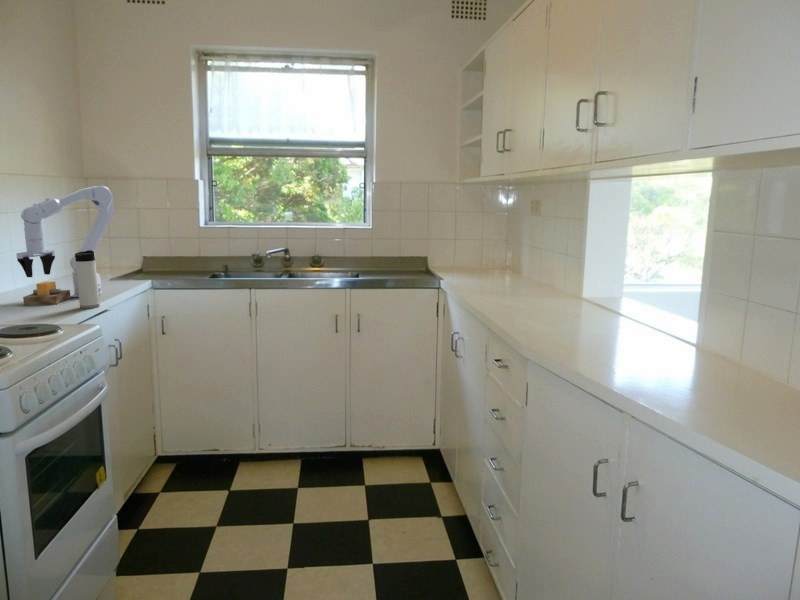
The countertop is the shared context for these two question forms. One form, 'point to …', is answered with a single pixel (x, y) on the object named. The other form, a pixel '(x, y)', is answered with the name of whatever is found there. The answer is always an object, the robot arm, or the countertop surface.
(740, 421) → the countertop surface
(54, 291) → the square wooden frame
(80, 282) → the travel mug
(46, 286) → the orange notched block
